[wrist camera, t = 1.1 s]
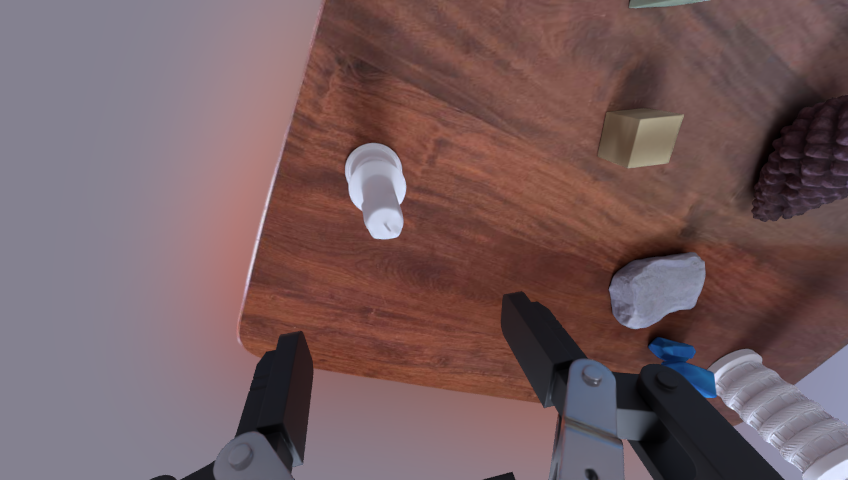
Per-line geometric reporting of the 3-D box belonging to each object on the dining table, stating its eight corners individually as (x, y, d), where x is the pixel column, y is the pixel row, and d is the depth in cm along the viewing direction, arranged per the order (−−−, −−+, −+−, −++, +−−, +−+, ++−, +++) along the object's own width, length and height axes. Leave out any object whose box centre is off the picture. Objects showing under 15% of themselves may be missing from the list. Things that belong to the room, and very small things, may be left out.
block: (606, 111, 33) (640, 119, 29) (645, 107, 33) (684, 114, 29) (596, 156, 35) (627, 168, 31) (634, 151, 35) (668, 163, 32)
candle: (413, 172, 32) (443, 227, 21) (373, 208, 33) (384, 277, 22) (374, 129, 29) (387, 169, 19) (332, 170, 30) (324, 229, 20)
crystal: (693, 355, 45) (754, 384, 47) (653, 317, 53) (707, 344, 55) (655, 390, 48) (714, 416, 50) (623, 348, 56) (675, 373, 58)
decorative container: (748, 339, 60) (886, 437, 44) (760, 363, 65) (886, 458, 50) (692, 376, 62) (805, 480, 47) (708, 396, 68) (814, 496, 52)
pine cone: (773, 214, 45) (812, 257, 37) (702, 184, 46) (725, 219, 38) (942, 82, 33) (1047, 106, 26) (841, 46, 34) (913, 58, 27)
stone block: (599, 263, 45) (609, 321, 48) (626, 277, 41) (634, 340, 44) (675, 232, 46) (680, 291, 49) (710, 242, 41) (712, 306, 44)
